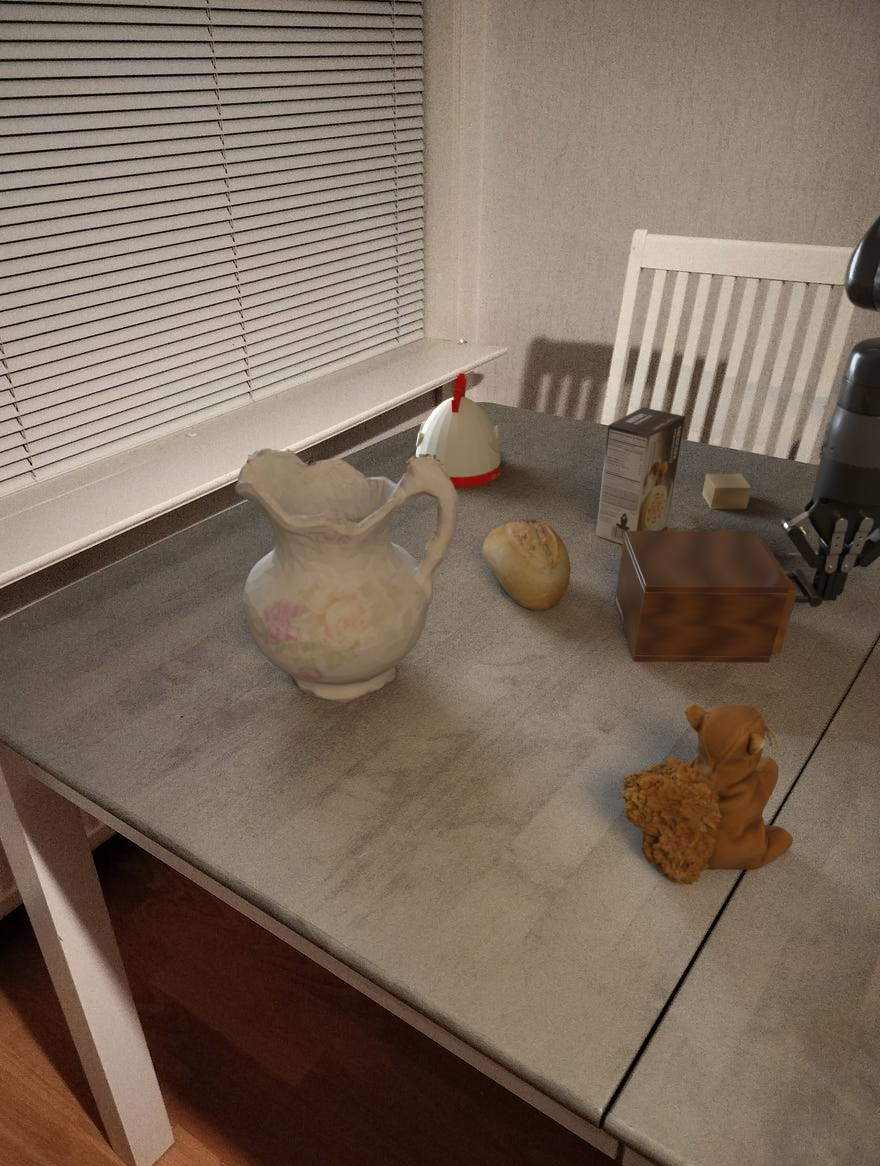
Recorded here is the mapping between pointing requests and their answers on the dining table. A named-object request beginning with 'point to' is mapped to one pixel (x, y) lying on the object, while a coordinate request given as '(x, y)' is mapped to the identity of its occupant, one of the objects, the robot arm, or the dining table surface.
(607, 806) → the dining table surface
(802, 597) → the drawer
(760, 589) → the cabinet
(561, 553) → the bread roll
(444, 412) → the white chicken egg cooker
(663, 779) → the stuffed squirrel
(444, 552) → the ceramic pitcher
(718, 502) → the block
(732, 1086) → the dining table surface
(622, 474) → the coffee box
